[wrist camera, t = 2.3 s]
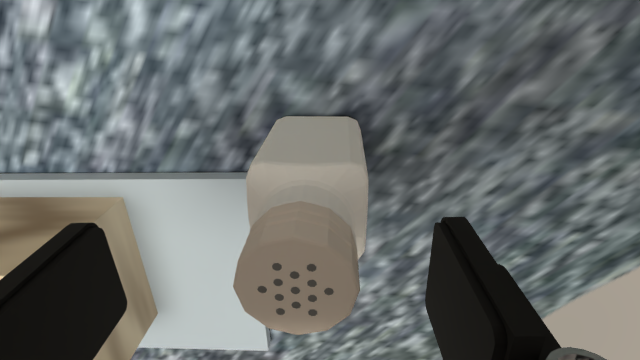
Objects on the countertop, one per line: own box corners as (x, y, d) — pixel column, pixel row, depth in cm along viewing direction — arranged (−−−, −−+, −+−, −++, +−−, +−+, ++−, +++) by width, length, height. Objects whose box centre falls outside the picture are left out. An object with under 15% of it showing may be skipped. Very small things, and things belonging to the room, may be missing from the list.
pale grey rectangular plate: (249, 172, 18) (245, 178, 17) (270, 340, 23) (268, 350, 23) (-28, 173, 19) (-42, 180, 18) (51, 334, 24) (42, 344, 23)
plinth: (122, 197, 18) (28, 277, 13) (157, 313, 22) (95, 417, 16) (-24, 197, 19) (-177, 275, 13) (32, 310, 22) (-70, 410, 17)
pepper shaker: (279, 188, 18) (226, 343, 10) (274, 112, 17) (204, 220, 8) (357, 189, 18) (371, 349, 10) (360, 113, 17) (381, 223, 8)
